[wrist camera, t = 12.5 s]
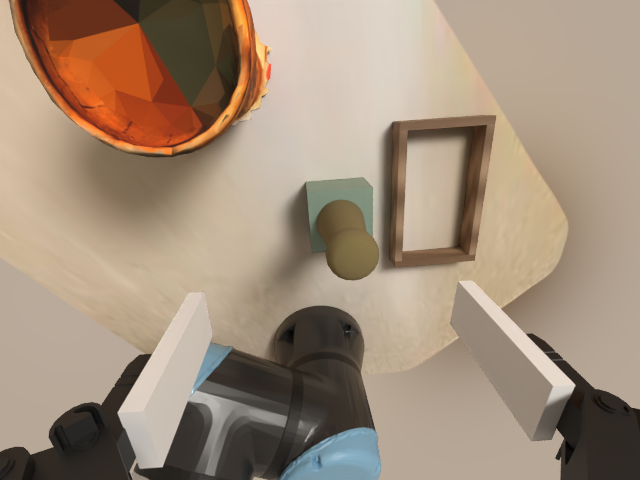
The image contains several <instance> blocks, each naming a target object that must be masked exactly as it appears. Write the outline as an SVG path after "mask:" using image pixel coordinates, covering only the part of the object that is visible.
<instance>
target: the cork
mask: <svg viewBox="0 0 640 480" xmlns="http://www.w3.org/2000/svg"><path fill="white" fill-rule="evenodd" d="M317 229H318V232H319V234H320V235H321V237H322V239H323V241H324V242H325V244H326V246H327V250H326V259H327V263H328V266H329V267H330V269H331V271H332V272H333V273H334V274H336V275H337V276H338V277H340V278H342V279H345V280H358V279H362V278H364V277H366V276H368V275H369V274H370V273H371V272H372V271H373V270H374V269H375V267H376V265H377V264H378V259H379V249H378V245H377V243H376V241H375V240H374V238H373V237H372V236H371V235H370V234H369V233H368V232H367V231H366V226H365V221H364V216H363V213H362V211H361V209H360V208H359V207H358V206H357V205H356V204H355V203H353V202H351V201H349V200H341V199H340V200H335V201H332V202H330V203H328V204H326V205H325V206H324V207H323V208H322V209H321V211H320V213H319V215H318V217H317Z"/></svg>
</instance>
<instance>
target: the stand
mask: <svg viewBox="0 0 640 480" xmlns="http://www.w3.org/2000/svg"><path fill="white" fill-rule="evenodd" d="M306 190H307V202H308V214H309V227H310V238H311V248H312V253H314V252H325V251H326V250H327V246H326V244H325V242H324V241H323V239H322V237H321V235H320V234H319V232H318V229H317V217H318V215H319V213H320V211H321V209H322V208H323V207H324V206H325V205H326V204H328V203H330V202H332V201H335V200H340V199H341V200H349V201H351V202H353V203H355V204H356V205H357V206H358V207H359V208H360V209H361V211H362V213H363V216H364V221H365V226H366V231H367V232H368V233H369V234H370V235H371V236H372V237H373V187H372V186H371V185H370V184H369V183H368V182H367V181H366V180H365V179H364V178H350V179H337V180H324V181H311V182H306Z"/></svg>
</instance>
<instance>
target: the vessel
mask: <svg viewBox="0 0 640 480" xmlns="http://www.w3.org/2000/svg"><path fill="white" fill-rule="evenodd" d="M9 3H10V9H11V14H12V19H13V24H14V29H15V33H16V35H17V37H18V39H19V41H20V43H21V45H22V47H23V50H24V53H25V55H26V58H27V60H28V61H29V63H30V65H31V67H32V69H33V71H34V73H35V75H36V76H37V78H38V79H39V80H40V82H41V83H42V85H43V87H44V88H45V90H46V92H47V93H48V95H49V97H50V98H51V100H52V101H53V102H54V103H55V104H56V105H57V106H58V107H59V108H60V109H61V110H62V111H63V112H64V113H65V114H66V115H67V116H68V117H69V118H70V119H71V120H72V121H73V122H75V123H76V124H77V125H79V126H80V127H81V128H83V129H84V130H85V131H87V132H88V133H89V134H91V135H92V136H93V137H95V138H96V139H98V140H99V141H101V142H102V143H104V144H106V145H108V146H110V147H113V148H115V149H117V150H120V151H123V152H126V153H129V154H135V155H141V156H146V157H173V156H177V155H181V154H188V153H191V152H194V151H197V150H199V149H201V148H203V147H205V146H207V145H208V144H210V143H212V142H213V141H214V140H215V139H217V138H218V137H219V136H221V135H222V134H223V133H224V132H225V131H226V130H227V129H228V128H229V127H230V126H231V125H233V126H235V125H237V124H238V122H240V121H244V120H251V112H250V111H252V110H255V109H257V108H260V105H261V96H263V95H266V94H267V92H268V90H269V89H267V88H265V85H266V83H267V81H268V80H269V78H270V71H271V64H269V63H267V53H268V51H271V48H270V47H268V46H265V45H263V44H261V42H260V40H259V38H258V36H257V33H256V31H255V29H254V24H253V19H252V15H251V11H250V7H249V5H248V2H247V0H9Z"/></svg>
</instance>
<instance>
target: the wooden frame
mask: <svg viewBox="0 0 640 480" xmlns="http://www.w3.org/2000/svg"><path fill="white" fill-rule="evenodd" d="M495 121H496V116H494V115H478V116H464V117H450V118H437V119H423V120H409V121H395V122H393V142H392V179H391V216H390V253H389V259H390V260H391V262H392V264H393V265H394V267H395V268H396V267H407V266H418V265H430V264H441V263H452V262H463V261H475V255H476V248H477V242H478V235H479V228H480V221H481V215H482V208H483V201H484V195H485V188H486V181H487V174H488V168H489V161H490V154H491V148H492V141H493V134H494V128H495ZM464 126H474V131H473V139H472V147H471V155H470V163H469V171H468V179H467V187H466V195H465V204H464V212H463V220H462V228H461V236H460V244H459V247H450V248H438V249H427V250H415V251H404V252H402V247H403V225H404V203H405V180H406V158H407V136H408V131H409V130H423V129H436V128H450V127H464Z"/></svg>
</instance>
